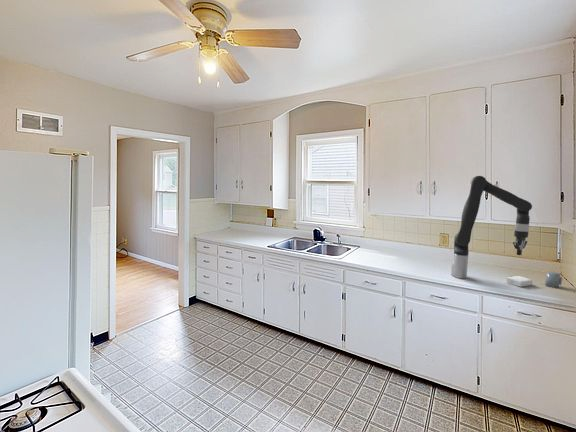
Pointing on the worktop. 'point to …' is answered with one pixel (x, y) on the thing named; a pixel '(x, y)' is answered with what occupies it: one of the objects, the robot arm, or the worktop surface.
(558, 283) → the grey rounded cylinder
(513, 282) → the photo printer
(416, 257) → the worktop surface
